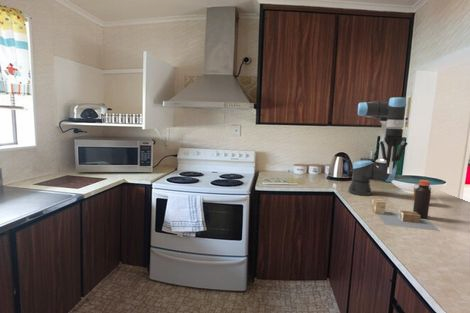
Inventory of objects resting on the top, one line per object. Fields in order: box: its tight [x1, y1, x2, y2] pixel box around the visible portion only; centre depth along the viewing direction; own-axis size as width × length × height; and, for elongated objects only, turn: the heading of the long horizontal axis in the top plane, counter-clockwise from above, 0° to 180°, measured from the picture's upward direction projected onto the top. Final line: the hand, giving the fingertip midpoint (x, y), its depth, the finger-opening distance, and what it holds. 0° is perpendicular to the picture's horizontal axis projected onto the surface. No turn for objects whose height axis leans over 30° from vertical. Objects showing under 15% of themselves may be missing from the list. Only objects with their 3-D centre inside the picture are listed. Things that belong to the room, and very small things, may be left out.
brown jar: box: [412, 183, 432, 201], centre depth 173 cm, size 10×10×12 cm
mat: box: [377, 211, 441, 232], centre depth 144 cm, size 22×24×1 cm
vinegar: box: [412, 179, 432, 219], centre depth 148 cm, size 7×7×20 cm
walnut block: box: [398, 209, 421, 223], centre depth 143 cm, size 6×4×8 cm
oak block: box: [370, 198, 386, 215], centre depth 154 cm, size 5×5×7 cm
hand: (389, 173), depth 144 cm, fingers closed
